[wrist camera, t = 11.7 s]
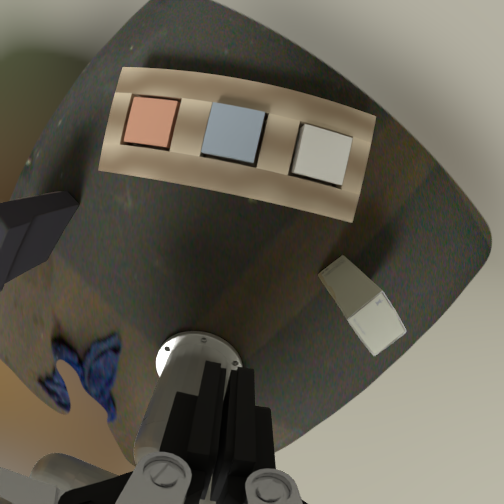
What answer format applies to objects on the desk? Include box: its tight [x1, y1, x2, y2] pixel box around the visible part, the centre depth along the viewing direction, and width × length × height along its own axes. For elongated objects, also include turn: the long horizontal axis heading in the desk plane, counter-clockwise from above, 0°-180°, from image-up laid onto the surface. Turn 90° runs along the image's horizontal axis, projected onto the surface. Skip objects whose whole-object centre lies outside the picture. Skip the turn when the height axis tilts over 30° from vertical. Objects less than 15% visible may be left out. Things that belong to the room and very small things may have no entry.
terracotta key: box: [124, 97, 180, 149], centre depth 29 cm, size 5×5×3 cm
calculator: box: [0, 191, 79, 291], centre depth 28 cm, size 11×4×15 cm, turn 136°
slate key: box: [201, 102, 265, 163], centre depth 28 cm, size 5×5×3 cm
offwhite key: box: [290, 124, 353, 185], centre depth 29 cm, size 5×5×3 cm
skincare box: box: [318, 255, 406, 356], centre depth 32 cm, size 6×4×12 cm
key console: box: [98, 67, 376, 223], centre depth 31 cm, size 12×28×5 cm, turn 77°
